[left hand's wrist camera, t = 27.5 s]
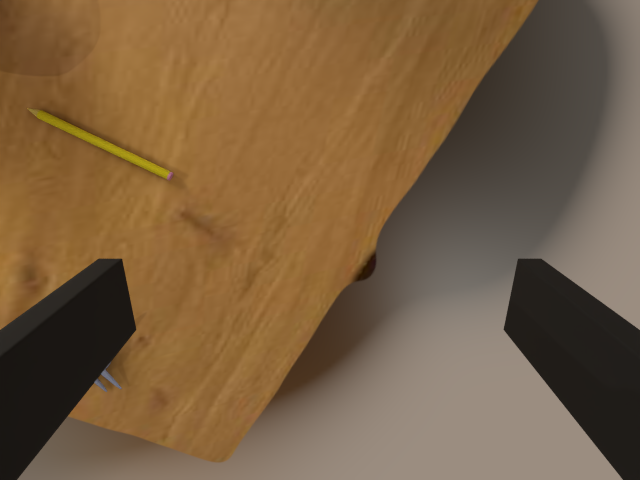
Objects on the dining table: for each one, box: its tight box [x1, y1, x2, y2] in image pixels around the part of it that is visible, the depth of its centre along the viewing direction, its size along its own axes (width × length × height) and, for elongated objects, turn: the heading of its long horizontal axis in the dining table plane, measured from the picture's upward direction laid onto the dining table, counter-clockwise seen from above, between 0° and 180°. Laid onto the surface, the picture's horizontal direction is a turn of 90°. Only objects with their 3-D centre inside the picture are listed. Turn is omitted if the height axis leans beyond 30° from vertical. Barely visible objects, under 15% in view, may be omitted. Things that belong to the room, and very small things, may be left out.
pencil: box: [27, 108, 173, 180], centre depth 42 cm, size 16×1×1 cm, turn 63°
